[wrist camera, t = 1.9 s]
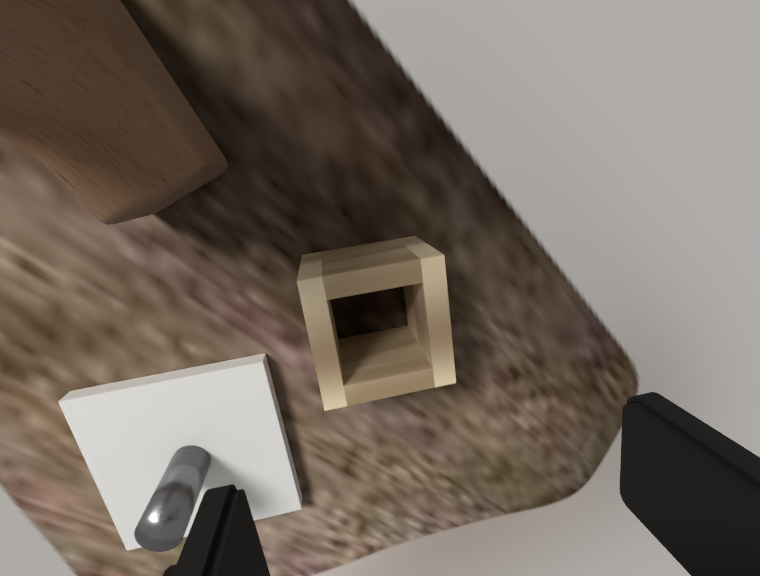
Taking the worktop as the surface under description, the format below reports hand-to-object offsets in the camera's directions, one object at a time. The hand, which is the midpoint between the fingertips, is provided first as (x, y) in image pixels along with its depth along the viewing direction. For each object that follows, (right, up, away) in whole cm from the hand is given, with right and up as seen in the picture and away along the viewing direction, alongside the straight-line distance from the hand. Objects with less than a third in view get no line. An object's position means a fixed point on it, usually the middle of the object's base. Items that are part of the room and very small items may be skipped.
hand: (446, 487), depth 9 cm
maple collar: (-2, +4, +12) cm, 13 cm away
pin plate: (-12, -4, +13) cm, 18 cm away
